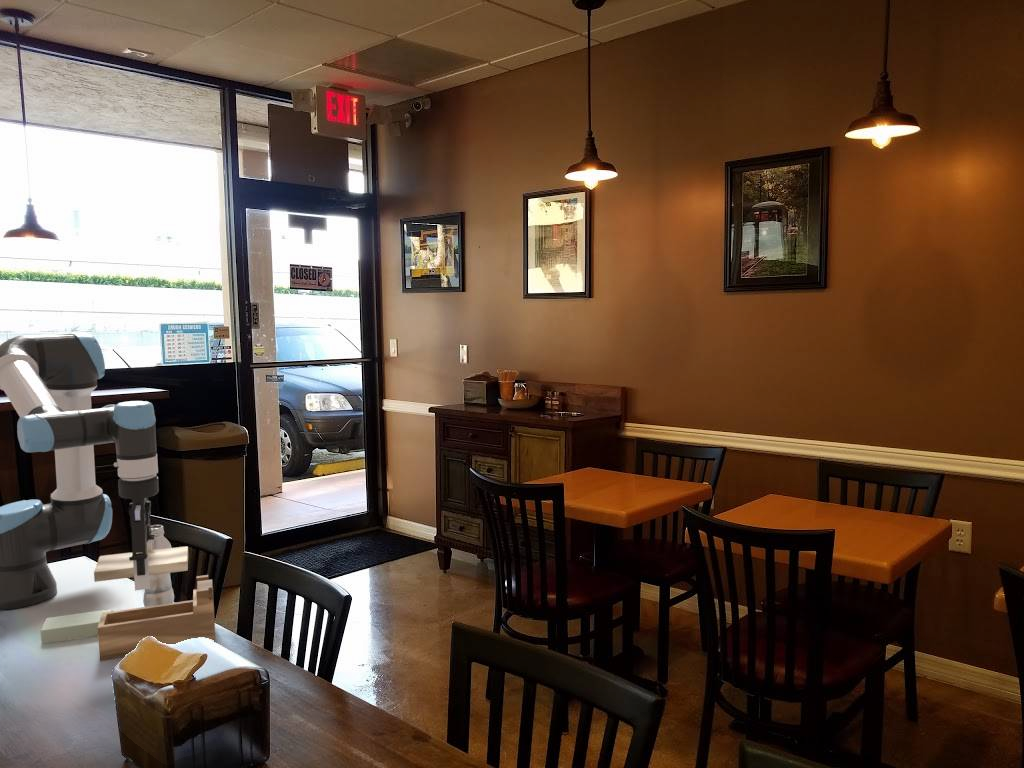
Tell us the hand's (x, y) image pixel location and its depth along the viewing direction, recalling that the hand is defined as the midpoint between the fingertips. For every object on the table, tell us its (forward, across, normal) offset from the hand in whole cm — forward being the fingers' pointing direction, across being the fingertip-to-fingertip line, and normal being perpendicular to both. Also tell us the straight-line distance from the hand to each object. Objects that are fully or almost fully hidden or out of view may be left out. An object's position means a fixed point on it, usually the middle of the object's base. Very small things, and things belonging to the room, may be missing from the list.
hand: (144, 579), depth 164 cm
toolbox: (+14, +1, +2) cm, 14 cm away
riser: (+15, -12, -15) cm, 24 cm away
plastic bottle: (+15, -19, +1) cm, 24 cm away
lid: (-3, 0, 0) cm, 3 cm away
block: (+5, 0, +12) cm, 13 cm away
